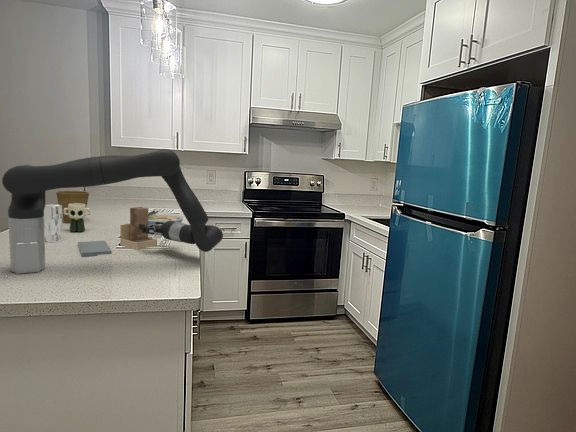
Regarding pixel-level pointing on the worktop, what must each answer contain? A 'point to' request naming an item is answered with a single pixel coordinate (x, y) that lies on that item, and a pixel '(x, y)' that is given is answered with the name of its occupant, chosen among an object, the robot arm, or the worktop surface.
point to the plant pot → (71, 200)
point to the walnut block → (138, 217)
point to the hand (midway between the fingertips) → (148, 225)
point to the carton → (130, 244)
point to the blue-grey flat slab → (93, 248)
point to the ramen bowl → (163, 218)
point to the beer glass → (53, 222)
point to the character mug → (77, 216)
